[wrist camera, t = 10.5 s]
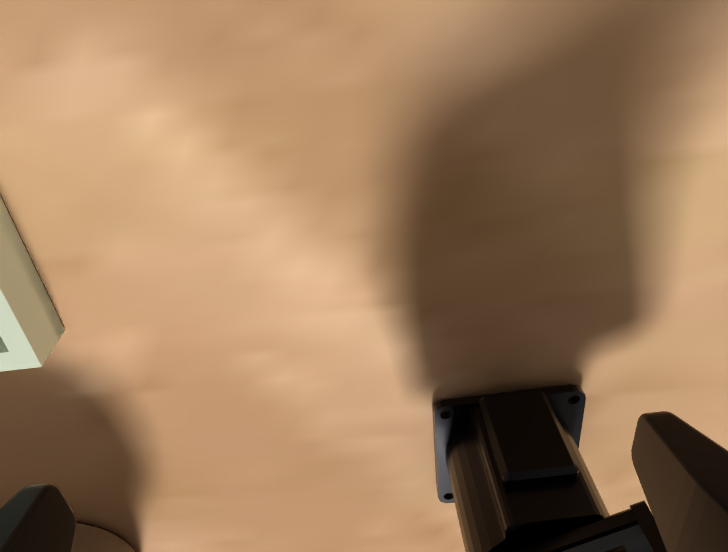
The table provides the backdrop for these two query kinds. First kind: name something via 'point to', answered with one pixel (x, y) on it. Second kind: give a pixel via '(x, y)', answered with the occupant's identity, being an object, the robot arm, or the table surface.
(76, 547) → the flower pot
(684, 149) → the table surface
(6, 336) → the tray
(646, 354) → the table surface
